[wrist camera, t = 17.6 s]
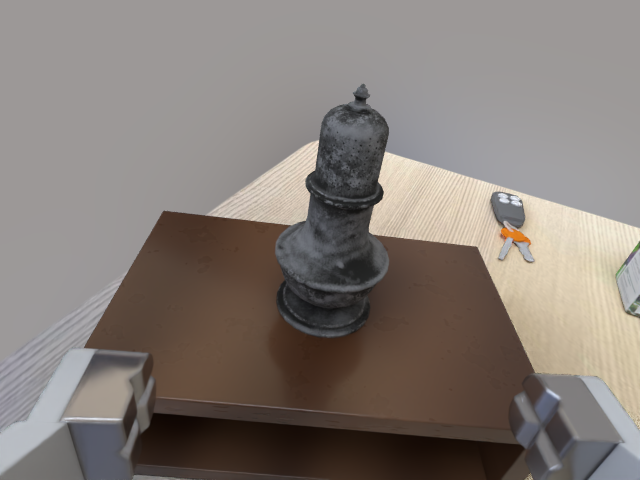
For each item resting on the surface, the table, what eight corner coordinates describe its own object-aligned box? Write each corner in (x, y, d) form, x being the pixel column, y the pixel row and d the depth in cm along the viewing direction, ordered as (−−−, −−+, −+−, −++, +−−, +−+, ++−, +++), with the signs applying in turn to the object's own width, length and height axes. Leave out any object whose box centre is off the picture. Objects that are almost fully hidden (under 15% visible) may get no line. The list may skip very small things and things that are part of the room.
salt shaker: (295, 256, 27) (320, 55, 20) (386, 286, 26) (445, 83, 19) (251, 317, 22) (263, 84, 15) (358, 358, 21) (424, 125, 14)
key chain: (486, 198, 52) (491, 187, 51) (518, 205, 52) (523, 194, 51) (497, 261, 42) (503, 249, 41) (536, 270, 41) (543, 258, 40)
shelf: (89, 471, 22) (58, 389, 18) (171, 286, 33) (163, 210, 29) (505, 503, 23) (564, 434, 19) (447, 315, 35) (477, 246, 31)
